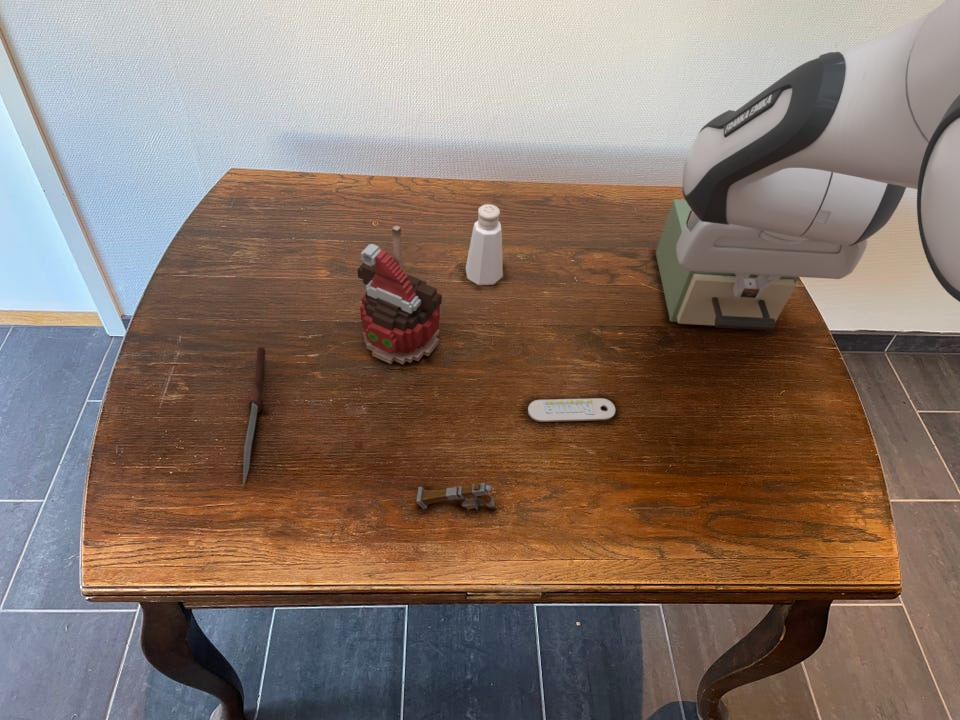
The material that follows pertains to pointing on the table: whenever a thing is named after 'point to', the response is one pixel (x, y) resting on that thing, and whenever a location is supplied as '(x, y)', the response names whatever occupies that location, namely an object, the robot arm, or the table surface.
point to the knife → (254, 409)
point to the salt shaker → (485, 248)
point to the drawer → (732, 303)
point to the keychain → (571, 410)
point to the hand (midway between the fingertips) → (745, 294)
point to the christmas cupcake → (397, 307)
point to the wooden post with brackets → (458, 496)
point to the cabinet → (669, 267)
